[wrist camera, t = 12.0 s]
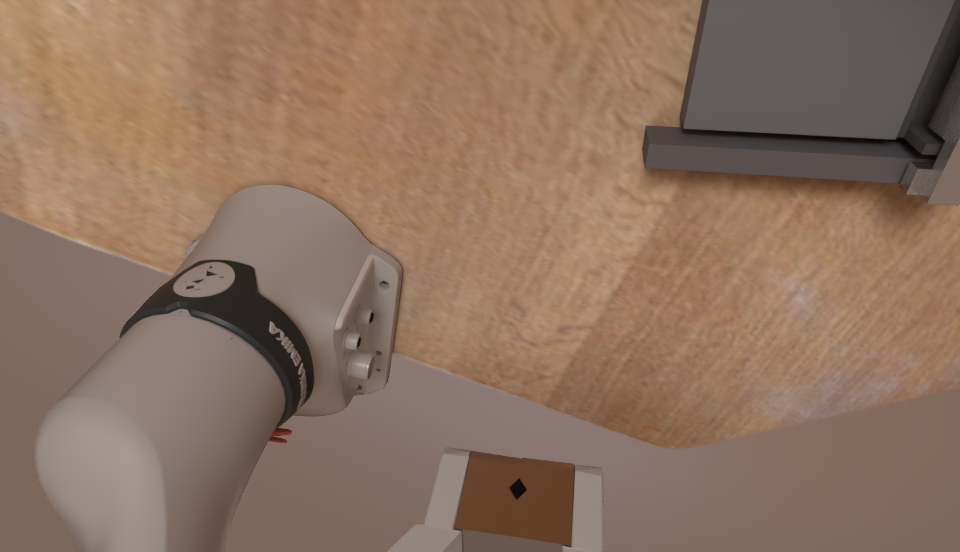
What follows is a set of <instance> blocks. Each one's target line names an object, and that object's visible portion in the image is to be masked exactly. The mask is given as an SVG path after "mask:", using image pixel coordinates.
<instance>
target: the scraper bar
mask: <svg viewBox="0 0 960 552" xmlns="http://www.w3.org/2000/svg"><path fill="white" fill-rule="evenodd" d="M928 127H930V128H931V129H932V130H933V131H934V132H936V133H937V134H938V135H939V136H940V137H942V138H943V139H944V140H945V143H944V145H943V147H942V149H941V151H940V153H939V155H938V157H937V160H936V162H935V163H931V162H913V161H910V163H909V165H908V168H907V170H906V172H905V174H904V176H903V179H902V181H901V183H900V185H899V187H900V188H901V189H902V191H903V192H904V193H905V194H907V195H920V197H921V198H922V199H923V200H924V201H925V202H926V203H927V204H940V205H956V206H959V204H960V57H959V59H958V62H957V64H956V66H955V68H954V70H953V73H952V75H951V77H950V79H949V81H948V84H947V86H946V88H945V90H944V92H943V95H942V97H941V99H940V101H939V103H938V106H937V108H936V110H935V112H934V114H933V117H932V119H931V121H930V123H929V125H928Z"/></svg>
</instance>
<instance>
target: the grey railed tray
mask: <svg viewBox="0 0 960 552" xmlns="http://www.w3.org/2000/svg"><path fill="white" fill-rule="evenodd" d="M954 1H955V0H703V1H702V6H701V11H700V16H699V21H698V27H697V32H696V37H695V42H694V47H693V52H692V57H691V62H690V67H689V72H688V78H687V83H686V88H685V93H684V98H683V103H682V108H681V113H680V119H681V123H682V126H683V128H680V127H660V126H646V129H645V135H644V142H643V148H642V150H643V157H644V164H645V168H654V169H670V170H686V171H702V172H718V173H734V174H751V175H767V176H783V177H799V178H815V179H831V180H848V181H864V182H880V183H896V184H900V183H901V181H902V179H903V176H904V174H905V172H906V170H907V168H908V165H909V163H910V161H913V162H931V163H935V162H936V160H937V157H938V155H926V154H921V153H920V152H919V151H917V150H916V149H915V148H914V147H913V146H912V145H911V144H910V143H909V142H908V141H907V140H906V139H896V137H897V135H898V132H899V130H900V128H901V125H902V123H903V121H904V118H905V116H906V114H907V111H908V109H909V106H910V104H911V102H912V99H913V97H914V95H915V92H916V90H917V88H918V85H919V83H920V81H921V78H922V76H923V74H924V71H925V69H926V67H927V64H928V62H929V60H930V57H931V55H932V53H933V50H934V48H935V46H936V43H937V41H938V39H939V36H940V34H941V31H942V29H943V27H944V24H945V22H946V20H947V17H948V15H949V13H950V10H951V8H952V6H953V3H954Z"/></svg>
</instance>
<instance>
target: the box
mask: <svg viewBox="0 0 960 552" xmlns="http://www.w3.org/2000/svg"><path fill="white" fill-rule="evenodd" d="M959 57H960V0H955V1H954V3H953V6H952V8H951V10H950V13H949V15H948V17H947V20H946V22H945V24H944V27H943V29H942V31H941V34H940V36H939V39H938V41H937V43H936V46H935V48H934V50H933V53H932V55H931V57H930V60H929V62H928V64H927V67H926V69H925V71H924V74H923V76H922V78H921V81H920V83H919V85H918V88H917V90H916V92H915V95H914V97H913V99H912V102H911V104H910V106H909V109H908V111H907V114H906V116H905V118H904V121H903V123H902V125H901V128H900V130H899V132H898V135H897V137H901V138H905V139H906V140H907V141H908V142H909V143H910V144H911V145H912V146H913V147H914V148H915V149H916V150H917V151H919V152H920V153H921V154H926V155H939V153H940V151H941V149H942V147H943V145H944V143H945V140H944V139H943V138H942V137H940V136H939V135H938V134H937V133H936V132H934V131H933V130H932V129H931V128H930V127H928V125H929V123H930V121H931V119H932V117H933V114H934V112H935V110H936V108H937V106H938V103H939V101H940V99H941V97H942V95H943V92H944V90H945V88H946V86H947V84H948V81H949V79H950V77H951V75H952V73H953V70H954V68H955V66H956V64H957V62H958V59H959Z"/></svg>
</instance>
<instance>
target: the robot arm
mask: <svg viewBox="0 0 960 552" xmlns="http://www.w3.org/2000/svg"><path fill="white" fill-rule="evenodd" d="M186 256H187V258H186V259H185V261H184V262H183V263H182V264H181V266H180V267H179V268H178V270H177V271H176V272H175V274H174V275H173V276H172V277H171V279H170V280H169V281H168V282H167V283H165V284H164V285H163V286H161V287H160V288H159V289H158V290H157V291H156V292H155V293H154V294H153V295H152V296H151V297H150V298H149V299H148V300H147V301H146V302H145V303H144V304H143V305H142V306H141V307H139V308H138V309H137V310H136V311H135V312H134V313H133V315H132V316H131V318H130V319H129V320H128V321H127V322H126V324H125V325H124V327H123V329H122V331H121V334H120V339H119V340H118V341H117V342H116V343H115V344H114V345H113V346H112V347H111V348H110V349H109V350H108V351H107V352H106V353H105V354H104V355H103V356H102V357H101V358H100V359H99V360H98V361H97V362H96V363H95V364H94V365H93V366H92V367H91V368H90V369H89V370H88V371H87V372H86V373H85V374H84V375H83V376H82V377H81V378H80V379H79V380H78V381H77V382H76V383H75V384H74V385H73V386H72V387H71V388H70V389H69V390H68V391H67V392H66V393H65V394H64V395H63V396H62V397H61V398H60V399H59V400H58V401H57V402H56V403H55V404H54V405H53V406H52V408H51V409H50V410H49V412H48V413H47V415H46V416H45V418H44V419H43V422H42V424H41V426H40V428H39V430H38V433H37V437H36V442H35V449H34V457H35V467H36V472H37V476H38V479H39V482H40V485H41V487H42V489H43V492H44V494H45V496H46V498H47V500H48V502H49V503H50V505H51V507H52V508H53V510H54V511H55V513H56V514H57V516H58V517H59V519H60V520H61V522H62V523H63V525H64V526H65V527H66V529H67V531H68V533H69V534H70V536H71V539H72V541H73V544H74V547H75V550H76V552H225V547H226V541H227V537H228V532H229V528H230V525H231V522H232V518H233V515H234V513H235V510H236V508H237V505H238V503H239V501H240V498H241V496H242V494H243V492H244V489H245V487H246V485H247V483H248V481H249V478H250V476H251V474H252V472H253V470H254V468H255V466H256V464H257V462H258V460H259V458H260V456H261V454H262V452H263V450H264V448H265V446H266V444H267V442H268V441H272V442H281V443H286V442H287V440H285V439H282V438H277V437H273V436H281V435H289V434H291V433H292V431H291V430H288V429H281V428H278V427H280V426H281V425H282V424H283V423H285V422H286V421H287V420H288V419H289V418H290V417H291V416H292V415H294V416H325V415H330V414H334V413H337V412H339V411H341V410H343V409H344V408H346V407H347V405H348V404H349V403H350V401H351V399H352V398H353V396H354V395H364V394H369V393H372V392H376V391H378V390H381V389H383V388H384V387H385V385H386V383H387V382H388V378H389V373H390V366H391V358H392V350H393V343H394V335H395V327H396V320H397V312H398V305H399V297H400V289H401V282H402V274H403V271H402V267H401V265H400V264H399V262H398V261H397V260H395V259H394V258H393V257H391V256H390V255H388V254H387V253H385V252H384V251H382V250H380V249H379V248H377V247H375V246H374V245H372V244H371V243H370V242H369V241H368V240H367V239H366V238H365V237H364V236H363V235H362V233H361V232H360V231H359V230H358V229H357V227H356V226H355V225H354V224H353V223H352V222H351V221H350V220H349V219H348V218H347V217H346V216H345V215H344V214H342V213H341V212H340V211H339V210H337V209H336V208H335V207H333V206H332V205H330V204H329V203H327V202H326V201H324V200H322V199H320V198H318V197H316V196H314V195H312V194H310V193H307V192H305V191H302V190H299V189H295V188H291V187H286V186H279V185H259V186H253V187H249V188H246V189H243V190H241V191H239V192H237V193H235V194H233V195H232V196H230V197H229V198H228V199H227V200H226V201H225V202H224V203H223V204H222V205H221V207H220V208H219V210H218V211H217V213H216V215H215V217H214V219H213V221H212V223H211V225H210V226H209V228H208V229H207V231H206V232H205V233H204V234H202V235H201V236H199V237H198V238H197V239H195V240H194V241H193V243H192V244H191V245H190V246H189V248H188V249H187V251H186ZM383 281H386V282H387V283H388V284H385V283H383ZM603 531H604V529H603V472H602V469H601V468H598V467H589V466H580V465H575V466H574V464H572V463H571V464H570V463H563V462H554V461H546V460H537V459H528V458H522V459H521V458H514V457H508V456H501V455H494V454H488V453H482V452H475V451H469V450H462V449H454V448H447V447H446V448H445V450H444V452H443V454H442V457H441V460H440V465H439V468H438V472H437V476H436V479H435V483H434V487H433V491H432V495H431V498H430V502H429V506H428V509H427V513H426V517H425V520H424V524H423V525H422V524H415V525H414V526H413V527H412V528H411V529H410V530H409V531H408V532H407V533H406V534H405V535H403V537H401V538H400V539H399V540H398V541H397V542H396V543H395V544H394V545H393V546H392V547H391V548H390V549H389V550H388V551H387V552H604V537H603V536H604V535H603V534H604V532H603Z"/></svg>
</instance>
